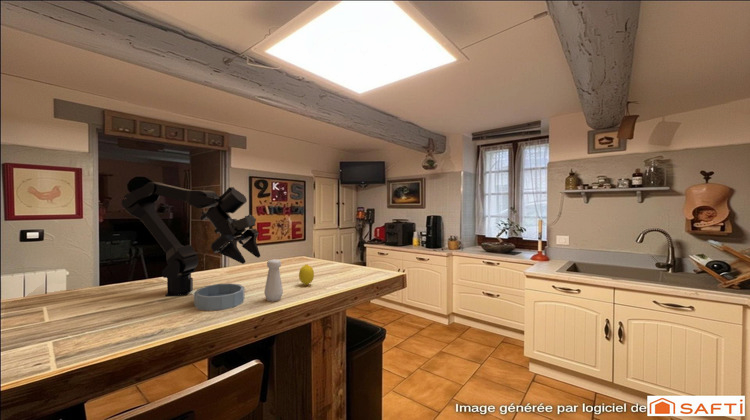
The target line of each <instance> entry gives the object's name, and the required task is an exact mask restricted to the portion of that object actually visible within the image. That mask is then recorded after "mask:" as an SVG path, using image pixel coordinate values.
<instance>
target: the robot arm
mask: <svg viewBox="0 0 750 420" xmlns="http://www.w3.org/2000/svg"><path fill="white" fill-rule="evenodd" d="M123 197H124V198H125V197H126V198H127V199H125V200H124V199H123V198H122V199H123V200H122V199H121V203H120V204H121V206H122V208H123V209H124V210H125V211H126V212H127V213H128V214H129V215H130V216H133V217H135V218H136V219H139V220H140V221H141V223H143V225H144V226H145V227H146V228H147V230H148V231H149V233H150V234H151V235H152V237H153V238H155V240H156V241H157V243H158V244H159V245H160V247H161V249H162V250H163V251H164V252H165V258H166V259H165V260H166V262H167V265H166V267H164V269H162V270H161V275H162V277H163V278H164V279H166V280H167V281H166V286H167V287H166V288H167V290H166V291H167V292H166V293H165V295H164V296H165V297H171V296H172V297H174V296H188V295H189V294H190V293H191V292H192V291H193V287H194V283H193V281H194V278H193V277H192V273H195V271H196V269H197V266H198V265H199V261H200V258H199V256H198V253H199V252H197V251H196V250H195V249H194V247H193V246H192V245H190V244H187V245H183V244H181V242H180V241H179V239H178V238H177V237H176V236H175V234H174V233H173V232H172V231H171V230H170V228H169V227H168V226H167V224H166V223H165V222H164V221H163V219H162V218H161V217H160V215H159V214H158V213H157V206H156V205H157V204H156V202H157V201H158V202H159V199H160V197H165V198H170V199H174V200H179V201H182V202H185V203H186V204H188V205H189V206H192V207H193V208H195V209H207V210H206V211H201V215H200V221H205V220H207V221H208V220H209V222H210V223H211V224H212V225H213V227H214V228H215V230H214V233H215V234H220V235H219V236H218V237H217V238H216V239H215V240H214V241H213V242H212V243H210V249H211V250H212V251H213V253H216V254H217V253H218V254H219V255H223V256H225V257H227V258H230V259H232V260H234V261H236V262H237V263H241V264H242V265H244V264H245V263H246V259H245V258H244V256H243V254H242V253H241V251H240V249H239V248H238V243H239V245H241V247H242V248H243V249H244V250H246V251H247V252H249V253H250V254H252V255H253V256H254V257H255V258H258V259H259V258H260V257H261V254H260V250H259V248H258V244H257V238H258V237H259V234H260V233H259V232H258V230H257V228H251V227H255V226H256V221H257V219H256V218H255V217H254V216H253V215H252V214H248V215H245V216H244V217H242V218H240V219H237V218H232V217H231V215H230V214H235V213H236V212H237V211H238V210H239V209H240V208H242V207H243V206H244V205H245V204H246V203H247V201H248V199H247V197H246V196H245V194H243V193H242V192H241V191H239V190H237V189H236V188H235V187H234V186H233V187H232V186H230V187H228V188H227V189H226V191H225V192H224V193H223V194H222V195H219V194H217V192H215V190H214V191H213V190H198V189H195V190H192V189H187V188H183V187H180V186H176V185H175V186H174V185H169V184H167V183H166V184H165V183H163V182H160V181H159V182H158V181H157V182H156V181H150V182H147V183H145V184H144V185H143V186H140V187H139V188H136V189H134V190H132V191H130V192H129V193H126V194H125V195H124V196H123ZM247 228H248V229H247Z"/></svg>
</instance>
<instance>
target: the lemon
mask: <svg viewBox="0 0 750 420" xmlns="http://www.w3.org/2000/svg"><path fill="white" fill-rule="evenodd" d="M298 272H299V273H298V277H299V281H300V282H301V283H302V284H304V285H305V286H308V285H309V284H311V283H312V282H313V281H314V277H315V273H314V268H313V267H312V266H310V265H309V264H304V265H303V266H302V267H300V269H299V271H298Z"/></svg>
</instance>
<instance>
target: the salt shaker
mask: <svg viewBox="0 0 750 420" xmlns="http://www.w3.org/2000/svg"><path fill="white" fill-rule="evenodd" d="M266 266H267V268H268V271H267V277H266V282H265V288H264V296H265V298H266V300H267V301H268V302H274V301H275V302H278V301H280V299H281V298H282V296H283V294H284V289H283V285H282V278H281V273H280V267H282V261H281V259H278V258H276V259H275V258H274V259H268V260H267V263H266Z"/></svg>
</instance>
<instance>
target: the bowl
mask: <svg viewBox="0 0 750 420" xmlns="http://www.w3.org/2000/svg"><path fill="white" fill-rule="evenodd" d="M244 301H245V286H243V285H241V284H239V283H238V284H237V283H230V282H229V283H217V284H216V283H215V284H211V285H205V286H204V287H200V288H198V289H196V291H194V293H193V306H194V307H195V308H196V309H197V310H199V311H200V310H201V311H207V312H213V311H224V310H227V309H231V308H236V307H238V306H240V305H242V304H243V303H244Z"/></svg>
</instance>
